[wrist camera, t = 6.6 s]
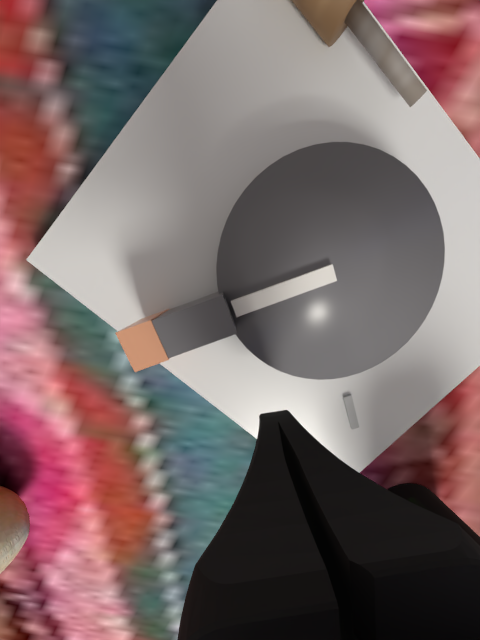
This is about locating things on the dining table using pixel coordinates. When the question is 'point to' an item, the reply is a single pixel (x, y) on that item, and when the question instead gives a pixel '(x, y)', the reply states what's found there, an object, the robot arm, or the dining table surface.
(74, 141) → the dining table surface
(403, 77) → the screwdriver
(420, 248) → the grey handled disc
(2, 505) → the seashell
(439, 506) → the cup
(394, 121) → the board
